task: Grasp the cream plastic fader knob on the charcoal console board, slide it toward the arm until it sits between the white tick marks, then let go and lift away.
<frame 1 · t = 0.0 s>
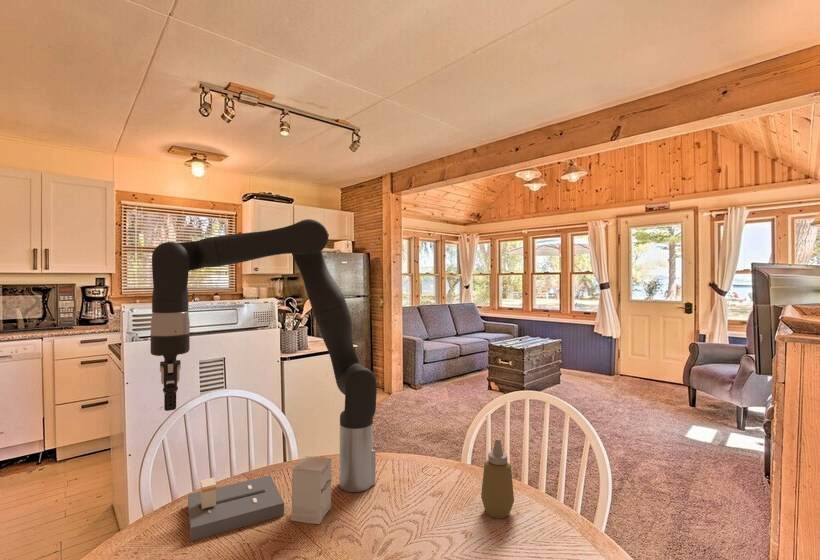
hand: (170, 404, 91), 29 cm above the table, tool pointing down, fingers open, 8 cm apart
supplement box: (312, 515, 99), on the table
fader: (208, 492, 98), point 6 cm above the table, slide at 0.0 cm
console: (235, 510, 101), on the table
squeeze bottle: (497, 513, 101), on the table
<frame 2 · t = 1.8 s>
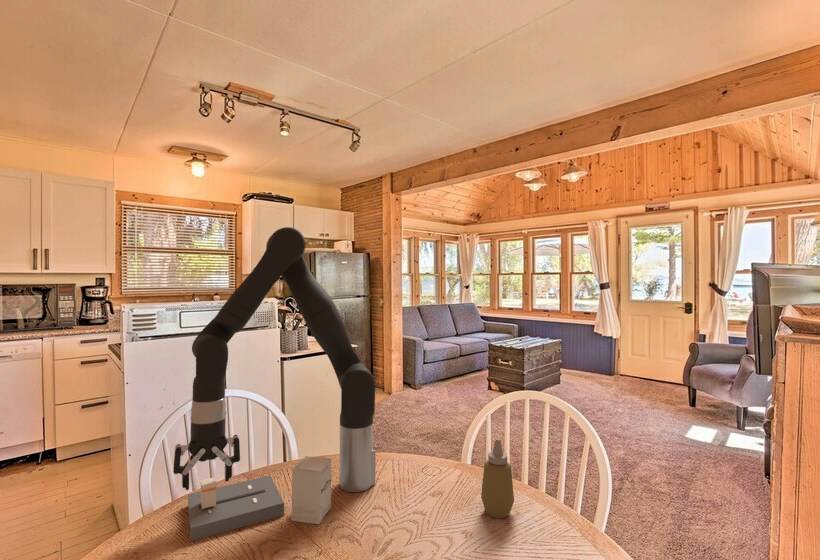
hand: (207, 484, 98), 8 cm above the table, tool pointing down, fingers open, 8 cm apart
nothing on the table moved.
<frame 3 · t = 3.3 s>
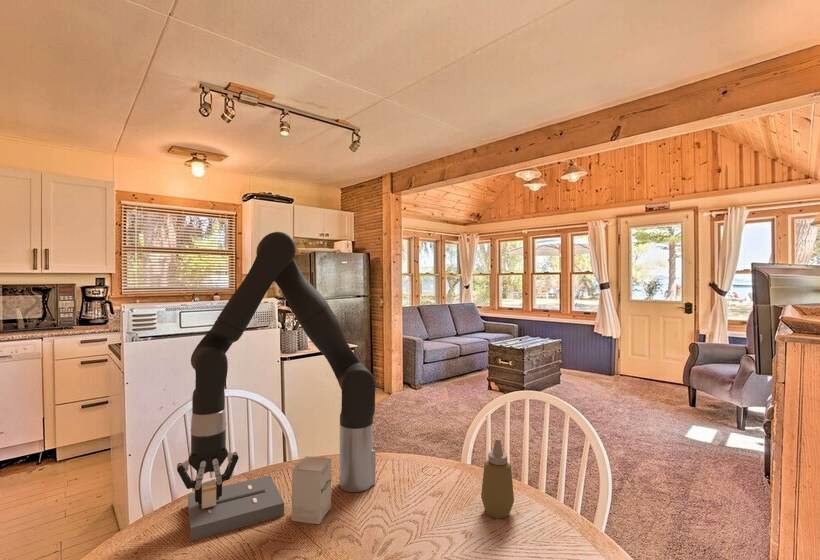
hand: (208, 500, 98), 4 cm above the table, tool pointing down, fingers closed on fader, 3 cm apart
fader: (208, 492, 98), point 6 cm above the table, slide at 0.0 cm, touching gripper
everything else where it was.
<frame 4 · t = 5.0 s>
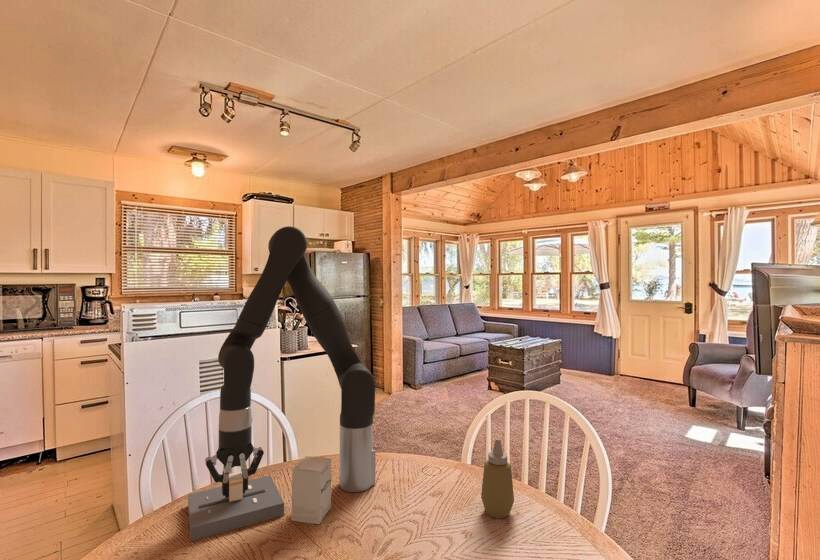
hand: (234, 493, 101), 4 cm above the table, tool pointing down, fingers closed on fader, 3 cm apart
fader: (235, 486, 101), point 6 cm above the table, slide at 5.9 cm, touching gripper
everything else where it was.
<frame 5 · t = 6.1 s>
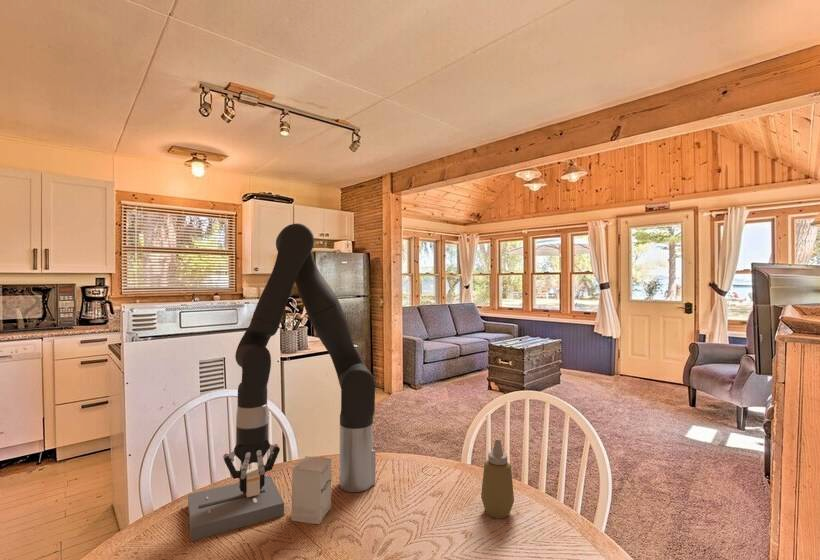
hand: (251, 489, 103), 4 cm above the table, tool pointing down, fingers closed on fader, 3 cm apart
fader: (252, 482, 103), point 6 cm above the table, slide at 9.9 cm, touching gripper
everything else where it was.
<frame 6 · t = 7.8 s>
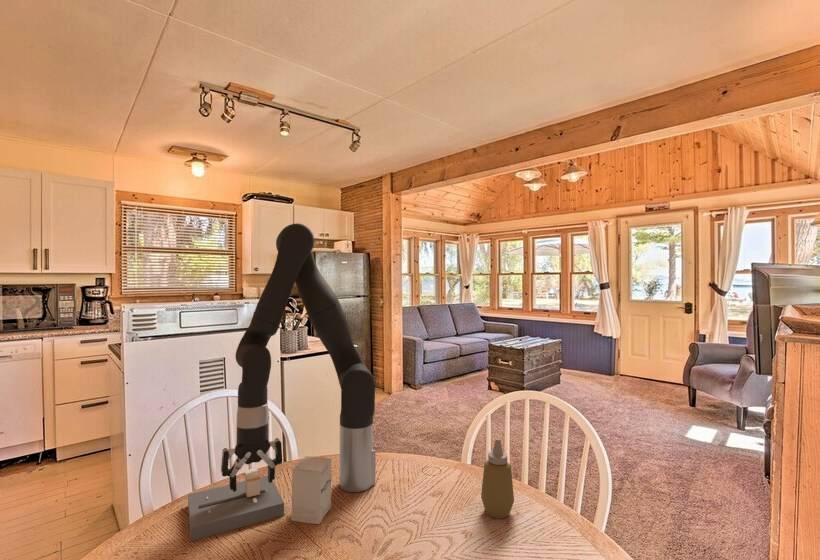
hand: (252, 485, 103), 5 cm above the table, tool pointing down, fingers open, 8 cm apart
fader: (252, 482, 103), point 6 cm above the table, slide at 10.0 cm
everything else where it was.
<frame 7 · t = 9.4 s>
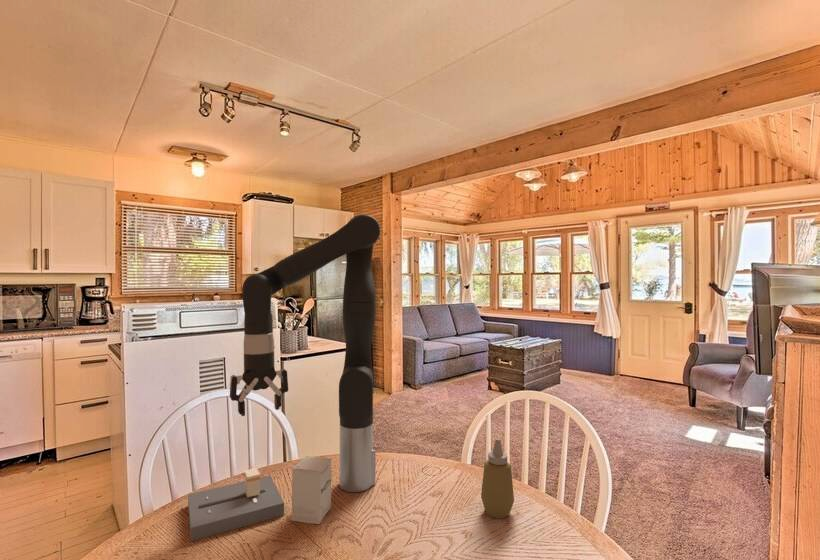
hand: (260, 412, 107), 22 cm above the table, tool pointing down, fingers open, 8 cm apart
nothing on the table moved.
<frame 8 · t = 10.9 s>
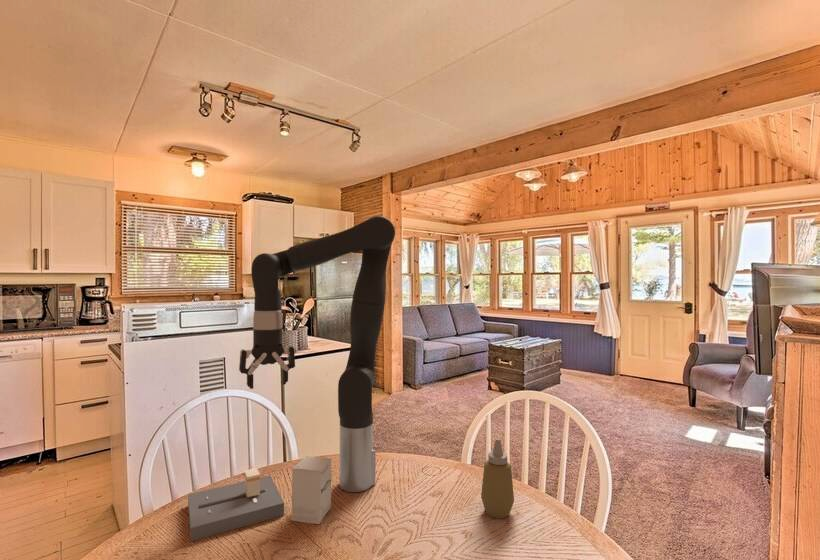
hand: (267, 386, 111), 28 cm above the table, tool pointing down, fingers open, 8 cm apart
nothing on the table moved.
at the end: fader slide at 10.0 cm; supplement box moved 0.3 cm from its start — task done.
